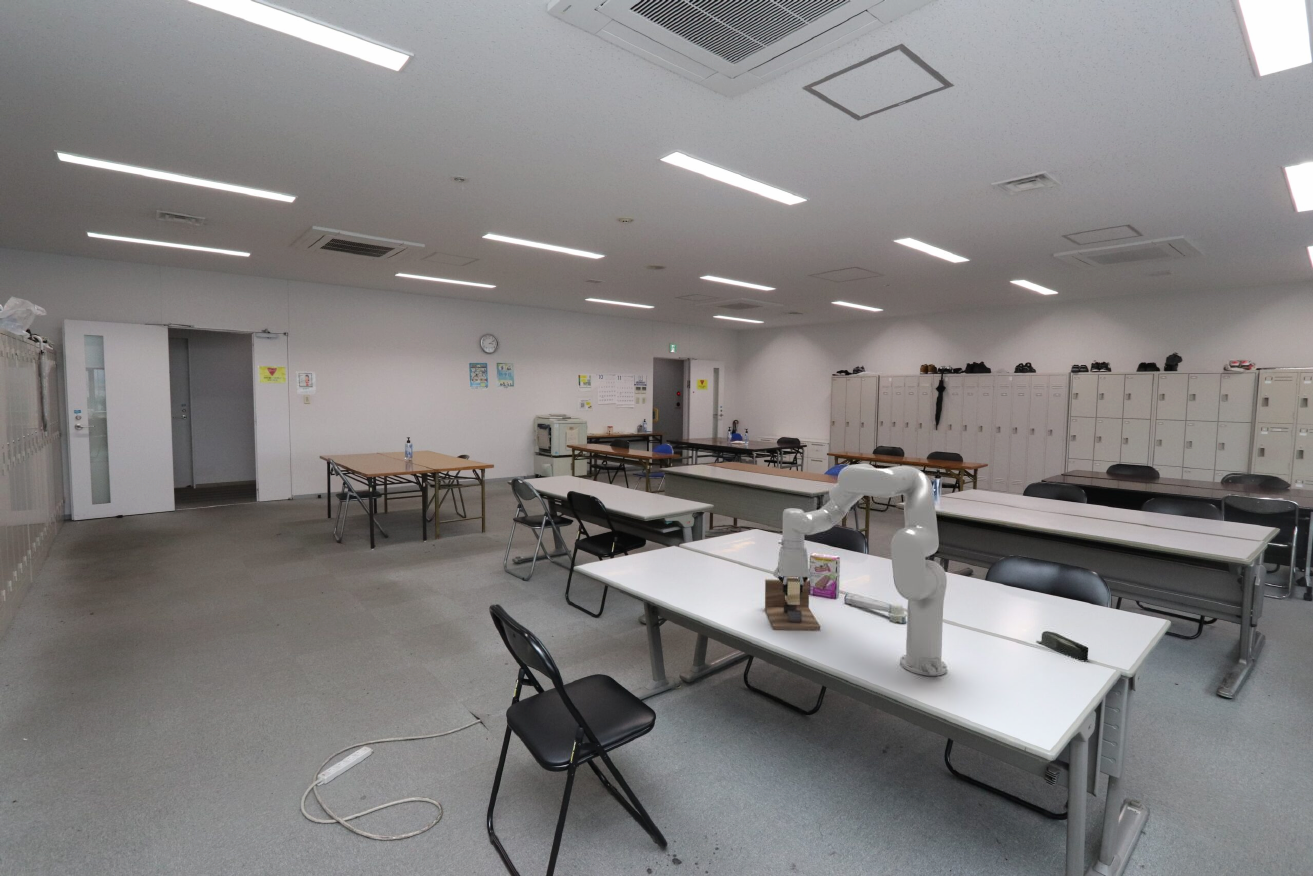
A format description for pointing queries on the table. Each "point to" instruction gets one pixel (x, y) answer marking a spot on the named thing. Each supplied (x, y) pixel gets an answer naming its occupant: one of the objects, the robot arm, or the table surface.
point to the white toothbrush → (878, 607)
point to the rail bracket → (793, 591)
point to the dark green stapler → (1064, 645)
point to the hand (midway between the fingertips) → (792, 594)
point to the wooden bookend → (788, 608)
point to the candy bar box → (824, 575)
